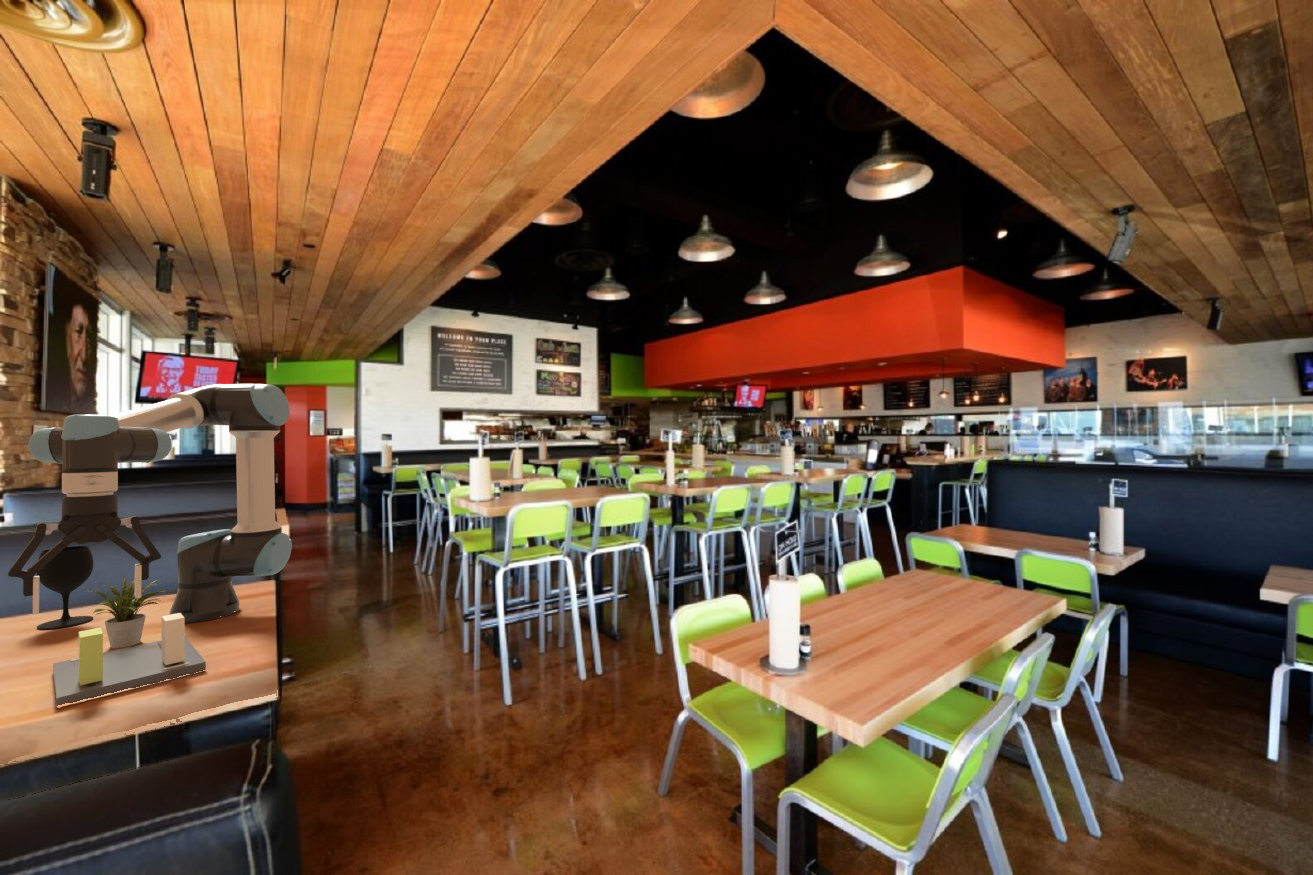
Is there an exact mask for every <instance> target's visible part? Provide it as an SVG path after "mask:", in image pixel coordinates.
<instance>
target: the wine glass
mask: <svg viewBox="0 0 1313 875" xmlns="http://www.w3.org/2000/svg"><path fill="white" fill-rule="evenodd" d="M50 549H51V548H50ZM50 549H44V550H42V551H41V552H40V554H39V557H38V558H37V561H38V560H39V559H40V558H41V557H42V556H43V555H45V554H46V553H47V552H48V551H49V550H50ZM94 564H95V563H94V556H93V553H92V550H91V549H90V546H89V545H72V546H67V547H66V548H65V549H63V550H62V551H61V552H60V553H59V554H58V555H57V556H56V557H54V558H53V559H52V560H51V561H50V562H49V563H48V564H47V565H45V566H44V567H43V568H42V569H41V570H40V571H39V572H38V573H36V576H39V583H40V584H41V585H43V586H44V587H45V588H47V589H48V590H51V591H53V592H56V593H58V594H60V596H61V597H62V598H61V599H62V614H61V617H60V618H57V619H53V620H49V621H46V622H43V623H41V624H38V625H37V626H36V630H38V629H39V631H51V630H52V631H53V630H60V629H66V628H71V627H75V626H80V625H84V624H87V623H89V622H91V621H93V620H94V616H92V615H77V616H71V614H70V612H69V601H70V600H69V599H70V596H71V593H72V592H73V591H74V590H77V589H78V588H80V587H81V586H82V585H84V583H85V582H87V580H88V579H89V578H90V577H91V575H92V573H93V570H94Z"/></svg>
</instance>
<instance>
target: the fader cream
mask: <svg viewBox="0 0 1313 875" xmlns="http://www.w3.org/2000/svg"><path fill="white" fill-rule="evenodd" d="M185 625H186V623H185V618H184V616H183V615H182V614H181V613H177V614H171V615H169V614H165V615H162V616H161V641H162V660H163V662H164V664H165V665H168V664H173V663H177V662H181V661H185V637H186V636H185V635H186V634H185V632H186V631H185V628H186V626H185Z"/></svg>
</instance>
